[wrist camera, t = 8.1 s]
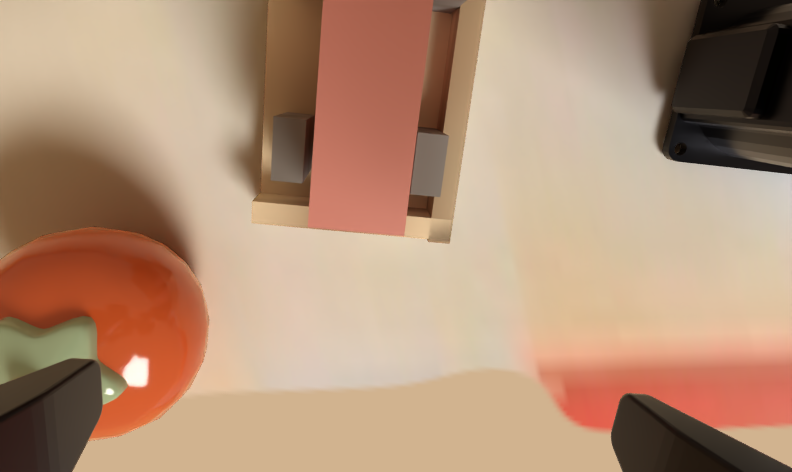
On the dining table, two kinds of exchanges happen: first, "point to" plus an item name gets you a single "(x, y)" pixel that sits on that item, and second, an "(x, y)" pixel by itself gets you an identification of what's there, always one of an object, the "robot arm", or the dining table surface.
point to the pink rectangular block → (367, 113)
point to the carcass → (296, 105)
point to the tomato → (105, 318)
